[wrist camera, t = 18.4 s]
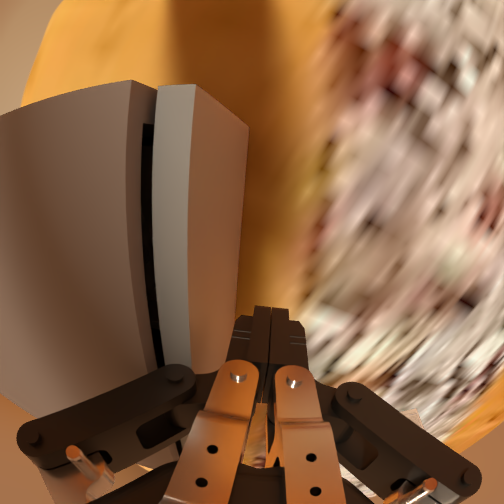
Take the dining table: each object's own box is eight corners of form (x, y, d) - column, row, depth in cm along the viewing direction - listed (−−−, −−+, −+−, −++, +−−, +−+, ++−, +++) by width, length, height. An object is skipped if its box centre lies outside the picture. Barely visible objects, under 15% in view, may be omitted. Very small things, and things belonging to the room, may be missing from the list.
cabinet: (53, 136, 21) (-82, 162, 6) (234, 126, 21) (131, 79, 5) (68, 289, 28) (-21, 376, 12) (222, 318, 27) (179, 475, 11)
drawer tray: (58, 135, 21) (-69, 157, 6) (249, 127, 20) (196, 84, 6) (73, 293, 27) (-9, 375, 13) (234, 323, 27) (202, 466, 12)
